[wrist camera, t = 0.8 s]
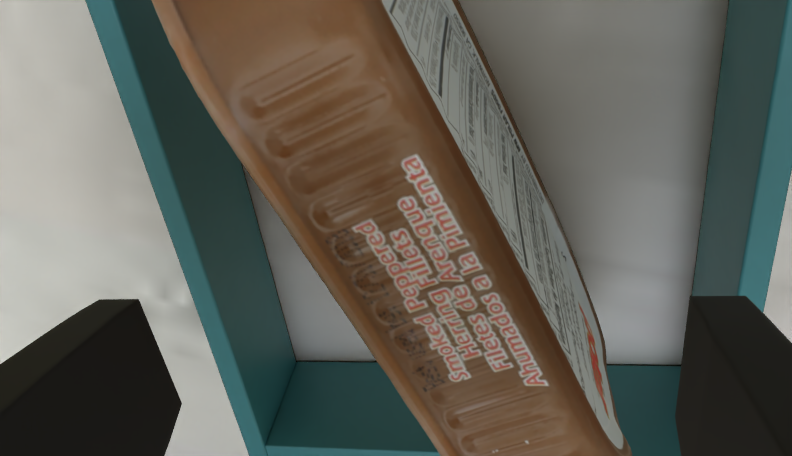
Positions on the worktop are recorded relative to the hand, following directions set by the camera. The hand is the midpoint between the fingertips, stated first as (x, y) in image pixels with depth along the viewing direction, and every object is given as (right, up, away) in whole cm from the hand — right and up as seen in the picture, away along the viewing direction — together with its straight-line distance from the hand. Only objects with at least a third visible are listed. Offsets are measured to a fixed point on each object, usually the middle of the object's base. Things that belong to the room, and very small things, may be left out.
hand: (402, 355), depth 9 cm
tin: (+1, +5, +8) cm, 10 cm away
